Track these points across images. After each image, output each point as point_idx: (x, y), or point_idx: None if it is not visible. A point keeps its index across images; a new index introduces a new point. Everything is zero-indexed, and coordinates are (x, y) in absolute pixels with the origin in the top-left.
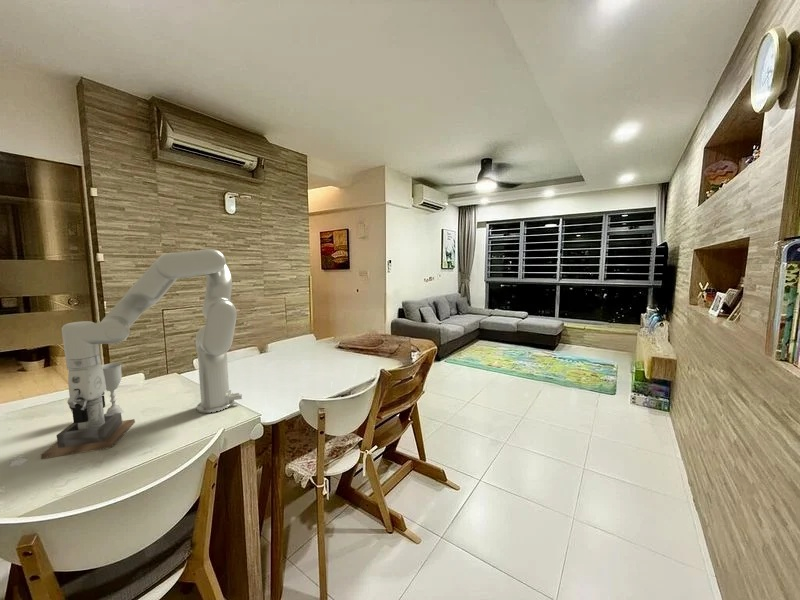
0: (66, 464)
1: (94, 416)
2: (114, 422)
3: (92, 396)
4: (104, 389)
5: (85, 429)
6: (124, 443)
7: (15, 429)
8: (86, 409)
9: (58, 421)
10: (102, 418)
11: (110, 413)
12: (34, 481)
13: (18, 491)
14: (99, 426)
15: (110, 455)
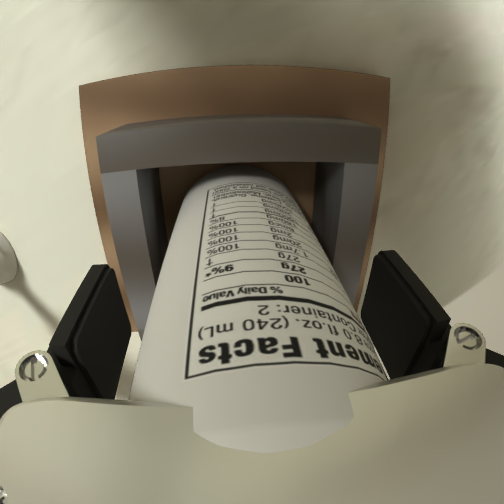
0: (438, 204)
1: (316, 242)
2: (217, 121)
3: (495, 397)
4: (62, 421)
5: (342, 240)
6: (356, 32)
7: None
8: (442, 315)
9: None
10: (253, 195)
11: (6, 263)
12: (479, 244)
13: (498, 253)
14: (277, 188)
15: (442, 69)
